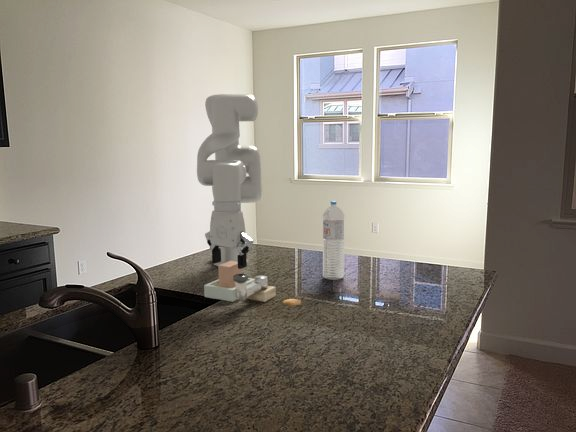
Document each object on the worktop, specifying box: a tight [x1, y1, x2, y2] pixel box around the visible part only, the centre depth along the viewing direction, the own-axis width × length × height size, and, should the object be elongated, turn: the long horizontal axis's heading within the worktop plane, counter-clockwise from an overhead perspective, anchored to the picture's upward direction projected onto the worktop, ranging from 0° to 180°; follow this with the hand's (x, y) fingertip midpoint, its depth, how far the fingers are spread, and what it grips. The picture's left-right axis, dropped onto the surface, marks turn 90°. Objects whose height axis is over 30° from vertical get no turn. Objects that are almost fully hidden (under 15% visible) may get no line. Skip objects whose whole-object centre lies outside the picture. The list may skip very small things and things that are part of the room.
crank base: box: [246, 285, 302, 307], centre depth 138 cm, size 16×6×3 cm, turn 61°
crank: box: [233, 273, 269, 300], centre depth 135 cm, size 14×4×6 cm, turn 151°
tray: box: [203, 277, 255, 303], centre depth 144 cm, size 10×12×4 cm
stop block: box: [217, 261, 243, 289], centre depth 144 cm, size 4×6×8 cm, turn 151°
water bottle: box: [322, 200, 345, 281], centre depth 158 cm, size 7×7×25 cm
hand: (229, 265), depth 142 cm, fingers open, 9 cm apart
